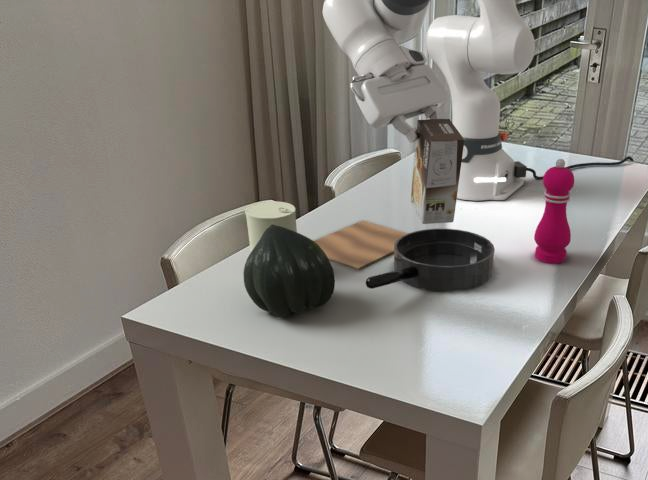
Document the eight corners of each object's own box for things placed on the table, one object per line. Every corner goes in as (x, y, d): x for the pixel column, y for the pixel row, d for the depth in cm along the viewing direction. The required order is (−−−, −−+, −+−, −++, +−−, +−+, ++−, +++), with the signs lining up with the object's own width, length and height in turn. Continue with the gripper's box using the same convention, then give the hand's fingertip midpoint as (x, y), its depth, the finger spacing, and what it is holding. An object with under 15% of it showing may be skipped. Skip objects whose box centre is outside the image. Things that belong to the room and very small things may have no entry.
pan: (432, 244, 160) (433, 221, 157) (511, 268, 151) (513, 244, 148) (374, 273, 147) (373, 249, 144) (456, 301, 138) (457, 276, 135)
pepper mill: (547, 248, 160) (557, 151, 149) (575, 258, 156) (588, 159, 145) (525, 256, 156) (533, 158, 145) (552, 267, 152) (564, 166, 141)
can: (290, 279, 143) (284, 217, 137) (243, 274, 145) (236, 212, 138) (307, 260, 151) (303, 201, 144) (263, 255, 152) (256, 196, 146)
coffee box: (455, 223, 142) (466, 140, 132) (422, 224, 140) (430, 141, 130) (440, 198, 149) (450, 117, 138) (408, 200, 147) (415, 118, 136)
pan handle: (412, 273, 142) (412, 253, 140) (421, 276, 141) (421, 255, 139) (363, 299, 132) (363, 277, 130) (372, 302, 131) (372, 280, 129)
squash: (345, 295, 126) (325, 209, 127) (253, 311, 121) (233, 222, 123) (335, 318, 139) (317, 240, 141) (252, 333, 135) (234, 252, 137)
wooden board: (362, 222, 169) (362, 220, 169) (420, 239, 162) (420, 237, 162) (298, 249, 155) (298, 247, 155) (358, 270, 148) (358, 268, 148)
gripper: (355, 66, 127) (402, 137, 128) (428, 51, 142) (470, 114, 142) (336, 90, 132) (381, 158, 132) (409, 73, 146) (449, 134, 147)
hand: (428, 135), depth 137 cm, fingers closed on coffee box, 6 cm apart
